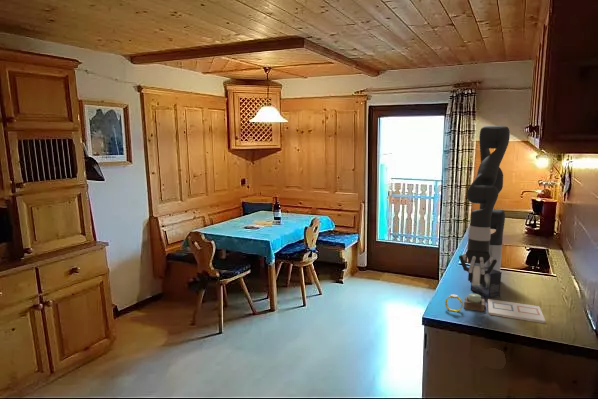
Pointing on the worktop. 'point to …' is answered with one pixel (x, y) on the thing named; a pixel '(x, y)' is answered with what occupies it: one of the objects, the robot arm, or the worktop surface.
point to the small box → (489, 284)
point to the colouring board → (515, 310)
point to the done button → (474, 298)
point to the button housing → (474, 305)
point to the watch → (453, 297)
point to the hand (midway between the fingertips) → (475, 282)
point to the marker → (476, 275)
